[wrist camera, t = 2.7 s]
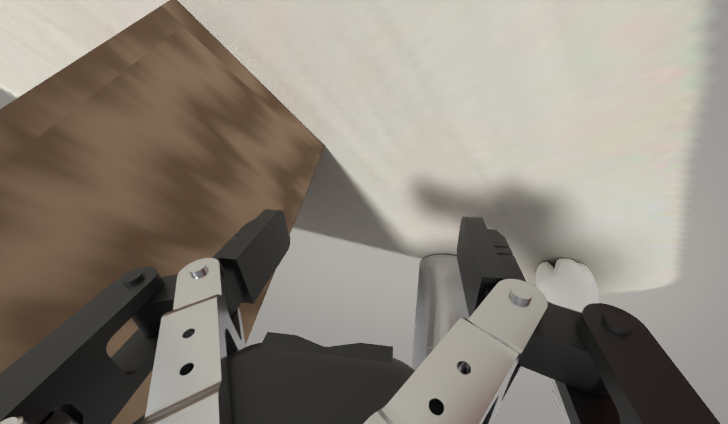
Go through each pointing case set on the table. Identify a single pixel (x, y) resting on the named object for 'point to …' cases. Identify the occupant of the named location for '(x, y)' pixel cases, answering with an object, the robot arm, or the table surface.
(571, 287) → the water bottle
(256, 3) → the table surface
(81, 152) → the rack
